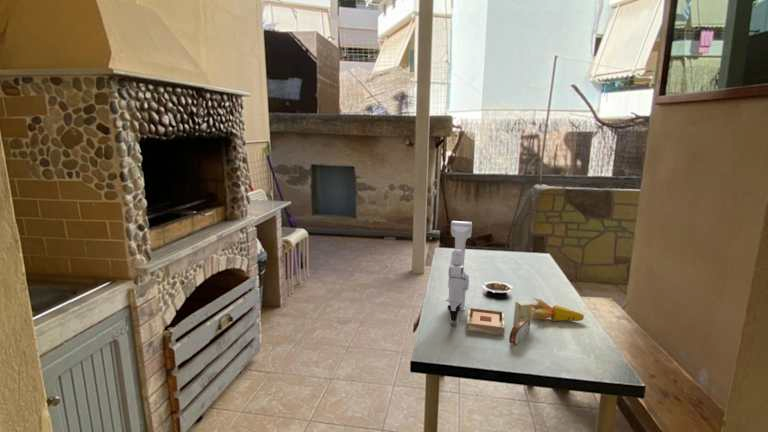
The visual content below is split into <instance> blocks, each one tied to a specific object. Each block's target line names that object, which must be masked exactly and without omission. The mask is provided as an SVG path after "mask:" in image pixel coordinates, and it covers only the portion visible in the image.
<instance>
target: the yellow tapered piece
mask: <svg viewBox="0 0 768 432" xmlns="http://www.w3.org/2000/svg"><path fill="white" fill-rule="evenodd" d="M532 299H534V300H535V301H536V302H537V303H532V304H533V305H532V314H531V320H532V319H535V320H541V319H544V320H545V319H551V321H552V322H558V321H560V322H562V321H567V322H580V321H583V320H584V318H585V316H584V314H583V313H581V312H580V311H579V312H578V311H575V310H571V309H569V308H566V307H563V306H559V305H554V306H552V307H551V306H550V305H549V304H547V303H546V302H544V301H543V300H542V299H541V298H540V299H539V298H535V297H532Z"/></svg>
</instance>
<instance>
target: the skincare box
mask: <svg viewBox="0 0 768 432" xmlns="http://www.w3.org/2000/svg"><path fill="white" fill-rule="evenodd" d="M533 304H534V303H532V302H531V301H529V300H525V299H524V300H518V301H517V300H516V301H515V305H514V306H515V307H514V314H513V315H514V316H513V322H512V323H513V325H512V327H513V326H514V325H515V324H516V323H517V322H518V321H519V320H520V319H522V318H523V319H525V320H527V321H528V328H527V330H530V328H531V321H532V319H531V314H532V309H533V308H532V305H533Z"/></svg>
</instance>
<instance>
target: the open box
mask: <svg viewBox="0 0 768 432" xmlns="http://www.w3.org/2000/svg"><path fill="white" fill-rule="evenodd" d="M473 311H474V312H482V313H491V314H499V326H494V325H486V324H478V323H472V316H473ZM487 322H488V321H487ZM466 332H471V333H478V334H479V333H481V334H485V335H493V336H501V337H504V336H505V313H504V311H503V310H497V309H496V310H495V309H487V308H478V307H471V306H470V307H469V308H468V313H467V320H466Z"/></svg>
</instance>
